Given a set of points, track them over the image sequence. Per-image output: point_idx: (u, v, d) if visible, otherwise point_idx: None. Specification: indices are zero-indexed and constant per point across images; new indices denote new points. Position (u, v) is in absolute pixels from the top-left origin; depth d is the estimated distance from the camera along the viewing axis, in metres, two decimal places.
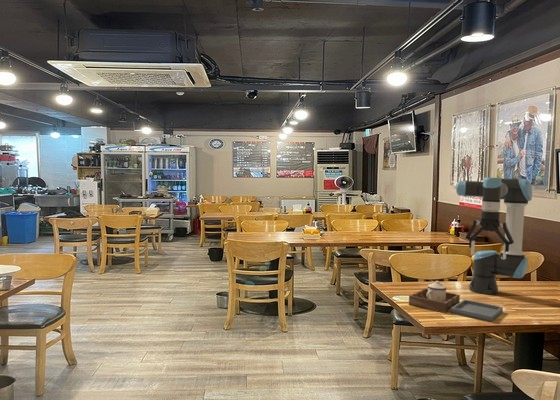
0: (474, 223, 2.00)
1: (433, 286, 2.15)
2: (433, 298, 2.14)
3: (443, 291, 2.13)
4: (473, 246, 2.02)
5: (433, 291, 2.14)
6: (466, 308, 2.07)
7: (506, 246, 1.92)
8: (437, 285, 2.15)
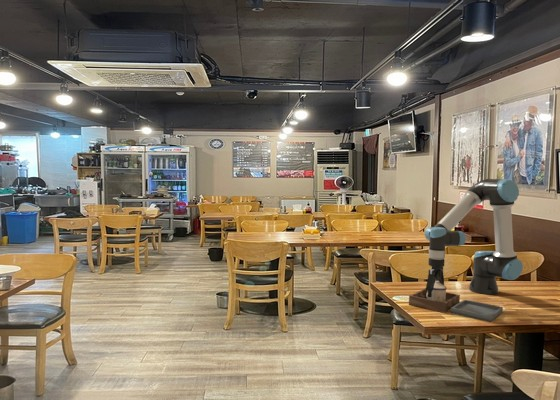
0: None
1: None
2: (433, 298, 2.14)
3: (443, 291, 2.13)
4: None
5: None
6: (466, 308, 2.07)
7: None
8: (437, 285, 2.15)
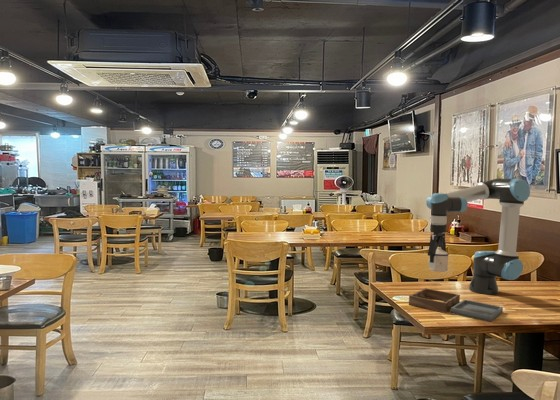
0: None
1: None
2: (435, 264, 2.13)
3: (445, 257, 2.12)
4: None
5: None
6: (466, 308, 2.07)
7: None
8: (439, 251, 2.14)
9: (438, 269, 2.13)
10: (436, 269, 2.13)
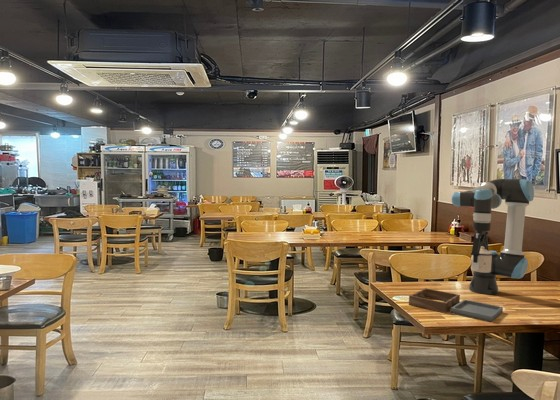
0: None
1: None
2: None
3: (489, 257, 2.00)
4: None
5: None
6: (466, 308, 2.07)
7: None
8: (482, 250, 2.02)
9: (481, 270, 2.00)
10: (479, 269, 2.01)
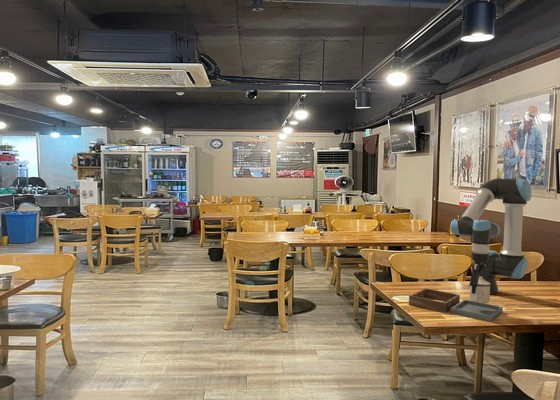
0: None
1: None
2: None
3: (487, 287, 2.01)
4: None
5: None
6: (466, 308, 2.07)
7: None
8: (481, 281, 2.02)
9: (480, 300, 2.01)
10: (477, 300, 2.01)
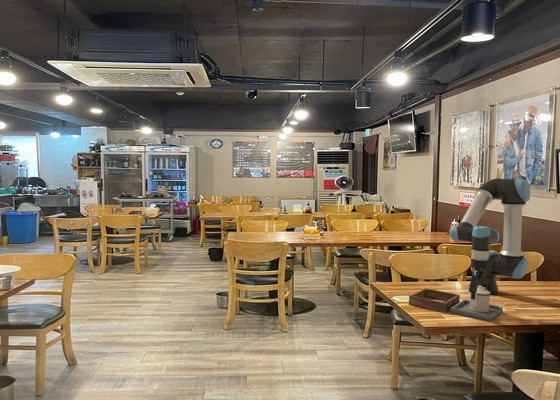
0: None
1: None
2: None
3: (487, 297, 2.02)
4: None
5: None
6: (466, 308, 2.07)
7: None
8: (480, 290, 2.03)
9: (480, 309, 2.02)
10: (477, 309, 2.02)
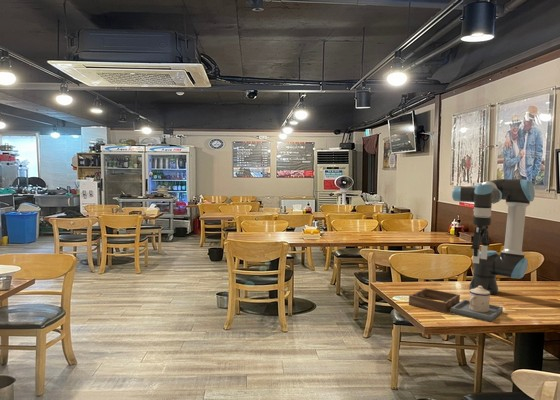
0: None
1: (476, 291, 2.03)
2: (476, 304, 2.02)
3: (487, 297, 2.02)
4: (482, 250, 2.09)
5: (476, 297, 2.02)
6: (466, 308, 2.07)
7: None
8: (481, 290, 2.03)
9: (480, 309, 2.02)
10: (477, 309, 2.02)
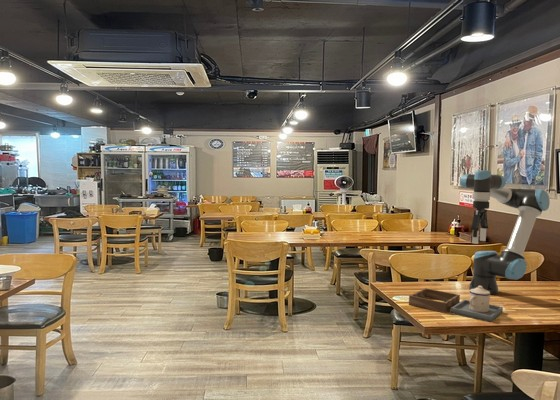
0: None
1: (476, 291, 2.03)
2: (476, 304, 2.02)
3: (487, 297, 2.02)
4: (481, 233, 2.23)
5: (476, 297, 2.02)
6: (466, 308, 2.07)
7: None
8: (481, 290, 2.03)
9: (480, 309, 2.02)
10: (477, 309, 2.02)
